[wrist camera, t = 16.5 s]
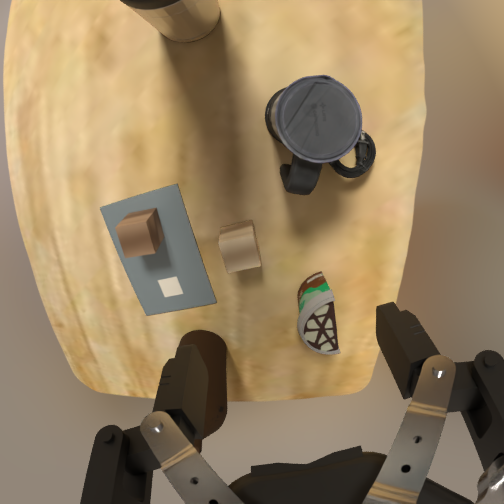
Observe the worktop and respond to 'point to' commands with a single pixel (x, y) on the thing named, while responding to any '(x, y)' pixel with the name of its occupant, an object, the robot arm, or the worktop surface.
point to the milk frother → (317, 130)
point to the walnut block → (140, 233)
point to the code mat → (163, 255)
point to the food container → (317, 315)
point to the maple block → (239, 246)
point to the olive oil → (211, 378)
